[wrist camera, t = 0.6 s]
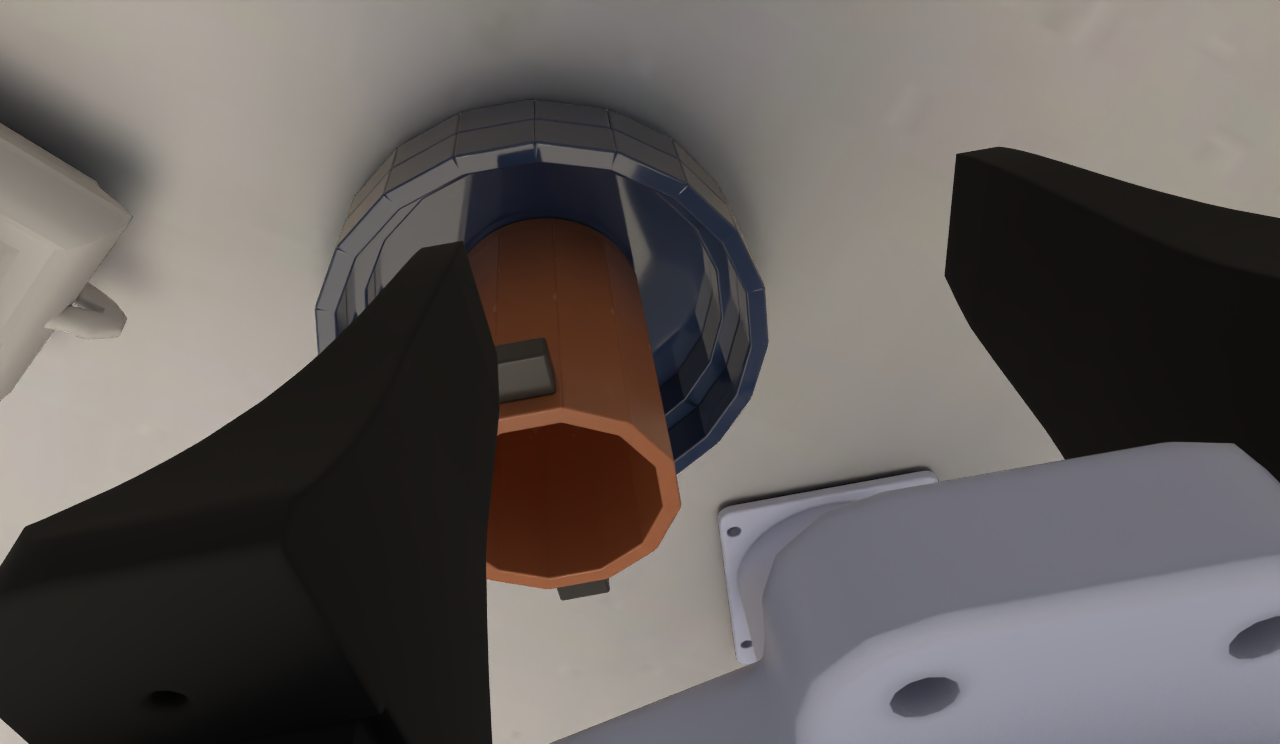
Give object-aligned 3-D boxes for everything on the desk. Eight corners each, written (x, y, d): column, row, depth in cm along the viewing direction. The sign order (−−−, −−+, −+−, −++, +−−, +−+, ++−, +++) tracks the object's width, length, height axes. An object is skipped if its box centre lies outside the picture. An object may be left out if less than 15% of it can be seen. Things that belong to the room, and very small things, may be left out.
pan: (754, 404, 28) (777, 472, 25) (413, 467, 28) (401, 541, 25) (725, 55, 21) (753, 101, 18) (269, 139, 21) (234, 196, 18)
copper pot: (654, 382, 26) (696, 591, 20) (489, 412, 26) (477, 631, 20) (616, 165, 22) (654, 347, 15) (417, 202, 22) (373, 398, 15)
